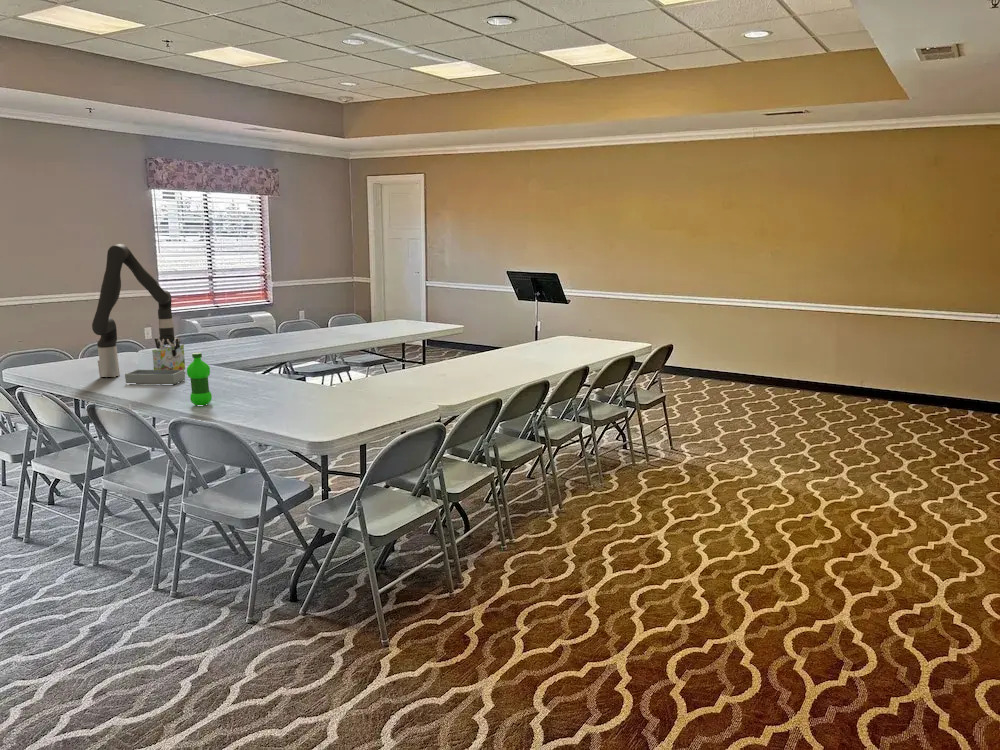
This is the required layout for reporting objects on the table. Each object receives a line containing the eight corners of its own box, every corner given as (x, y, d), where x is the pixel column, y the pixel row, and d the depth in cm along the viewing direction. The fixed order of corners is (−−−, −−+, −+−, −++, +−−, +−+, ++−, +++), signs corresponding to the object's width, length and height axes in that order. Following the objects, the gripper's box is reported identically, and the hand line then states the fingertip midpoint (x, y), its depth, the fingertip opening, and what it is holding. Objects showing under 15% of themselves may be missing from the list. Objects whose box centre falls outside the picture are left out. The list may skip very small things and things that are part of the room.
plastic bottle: (194, 402, 356) (188, 351, 350) (216, 402, 356) (211, 351, 351) (186, 408, 346) (181, 355, 341) (209, 407, 347) (204, 355, 341)
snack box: (163, 377, 406) (160, 350, 403) (153, 376, 408) (151, 349, 404) (186, 369, 427) (183, 343, 423) (177, 368, 428) (175, 343, 425)
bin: (126, 384, 394) (124, 374, 393) (138, 379, 405) (137, 369, 404) (174, 385, 392) (173, 374, 391) (185, 380, 403) (183, 370, 402)
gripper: (150, 327, 408) (153, 357, 412) (175, 327, 407) (178, 357, 411) (157, 325, 416) (160, 354, 419) (181, 325, 415) (184, 355, 418)
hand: (168, 356), depth 415 cm, fingers closed on snack box, 6 cm apart
